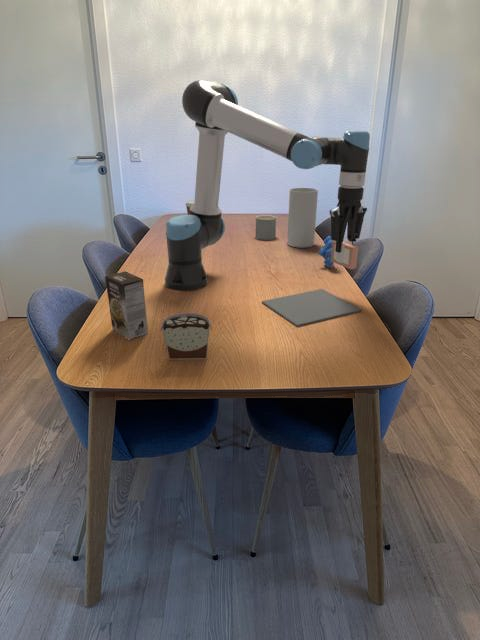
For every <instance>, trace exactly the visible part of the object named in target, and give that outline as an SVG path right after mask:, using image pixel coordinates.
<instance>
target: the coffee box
mask: <svg viewBox="0 0 480 640" xmlns="http://www.w3.org/2000/svg"><path fill="white" fill-rule="evenodd" d="M104 278H105V284H106V286H105V287H106V292H107V293H106V294H107V299H108V300H107V301H108V305H109V313H110V321H111V327H112V328H111V329H112V330H113V331H114V330H115V331H114V332H116V333H117V332H118V333H117V334H119V335H120V334H121V335H120V336H121V337H123V336H124V337H123V338H125V337H126V338H125V339H127V340H128V339H131V340H133V339H132V338H134V339H136V338H135V337H137V338H139V337H142V336H144V334H145V335H147V333H148V334H149V332H148V331H149V330H148V328H149V327H148V319H147V309H146V308H147V307H146V296H145V285H144V284H145V283H144V278H141V277H139V276H136V275H135V274H132V273H131V272H128V271H125V270H124V271H121V272H115V273H112V274H111V273H110V274H108V275H107V274H106V275H105V276H104ZM141 335H142V336H141ZM138 336H139V337H138Z"/></svg>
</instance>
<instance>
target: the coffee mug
mask: <svg viewBox="0 0 480 640" xmlns="http://www.w3.org/2000/svg"><path fill="white" fill-rule="evenodd" d="M276 233H277V217H276V216H273V215H267V214H266V215H257V216H255V239H257V240H262V241H272V240H275V239H276V235H277V234H276Z"/></svg>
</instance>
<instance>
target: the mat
mask: <svg viewBox="0 0 480 640" xmlns="http://www.w3.org/2000/svg"><path fill="white" fill-rule="evenodd" d="M261 304H263V306H266V307H267V308H269V309H270V310H271V311H273V312H274V313H276V314H277V315H279V316H280V317H282V318H283V319H285V320H286V321H288V322H289V323H290V324H292V325H294V326H295V327H297V328H298V327H302V326H305V325H310V324H313V323H318V322H323V321H326V320H330V319H335V318H339V317H343V316H347V314H348V315H351V313H352V314H356V313H359V312H358V311H360V312H362V310H363V309H362V308H360V307H358V306H357V305H355V304H353V303H350V302H348V301H347V300H345V299H343V298H341V297H339V296H337V295H335V294H333V293H331V292H329V291H327V290H325V289H323V288H320V289H314V290H310V291H304V292H299V293H295V294H289V295H286V296H285V295H284V296H281V297H275V298H271V299H265V300H262V301H261ZM355 312H356V313H355Z"/></svg>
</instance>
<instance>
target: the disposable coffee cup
mask: <svg viewBox="0 0 480 640" xmlns="http://www.w3.org/2000/svg"><path fill="white" fill-rule="evenodd" d="M194 201H195V200H187V201H186V202H185V207H186V212H187V215H189V212H190V207H191V206H192V205H194Z"/></svg>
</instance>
